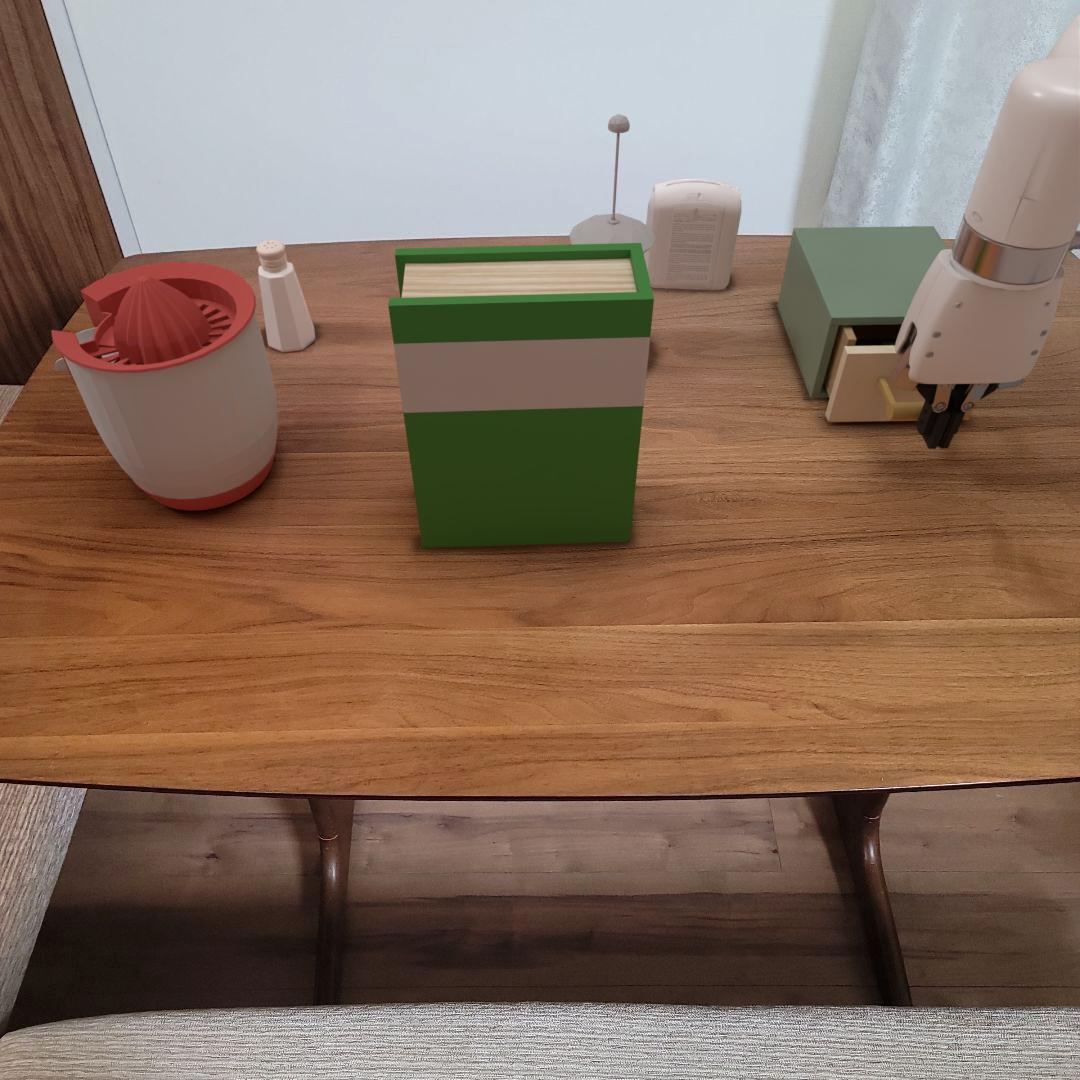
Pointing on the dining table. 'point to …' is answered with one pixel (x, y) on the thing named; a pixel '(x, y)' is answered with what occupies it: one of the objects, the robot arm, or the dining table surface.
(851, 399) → the drawer
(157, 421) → the citrus juicer
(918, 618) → the dining table surface
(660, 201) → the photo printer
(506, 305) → the hardback book
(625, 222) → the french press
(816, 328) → the cabinet
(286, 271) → the salt shaker
